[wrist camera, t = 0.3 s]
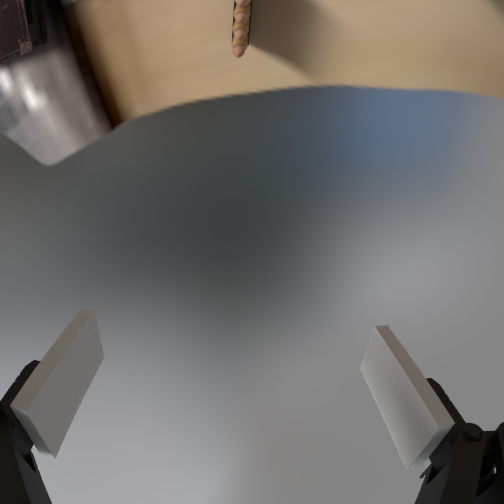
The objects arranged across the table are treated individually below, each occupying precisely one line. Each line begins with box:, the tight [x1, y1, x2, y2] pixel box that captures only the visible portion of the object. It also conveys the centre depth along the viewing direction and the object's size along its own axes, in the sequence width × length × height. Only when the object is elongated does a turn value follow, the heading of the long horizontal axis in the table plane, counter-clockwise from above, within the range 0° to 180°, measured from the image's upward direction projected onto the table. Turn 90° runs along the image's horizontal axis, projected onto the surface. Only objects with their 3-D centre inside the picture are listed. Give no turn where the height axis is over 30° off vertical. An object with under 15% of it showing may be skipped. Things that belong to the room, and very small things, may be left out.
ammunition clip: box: [232, 0, 252, 58], centre depth 23 cm, size 11×2×12 cm, turn 176°
